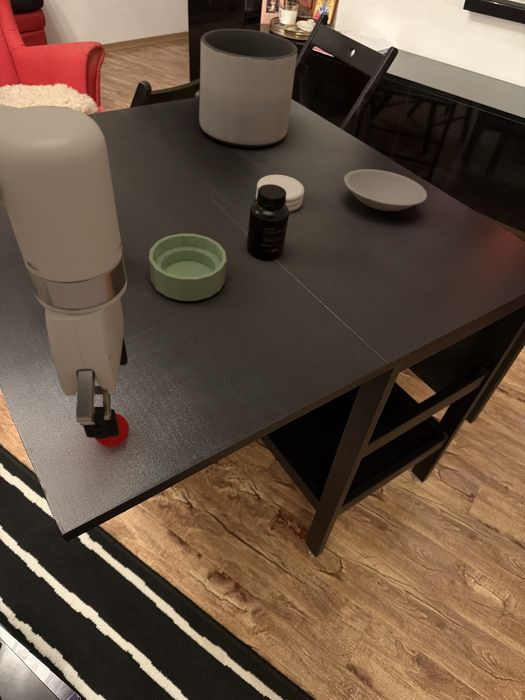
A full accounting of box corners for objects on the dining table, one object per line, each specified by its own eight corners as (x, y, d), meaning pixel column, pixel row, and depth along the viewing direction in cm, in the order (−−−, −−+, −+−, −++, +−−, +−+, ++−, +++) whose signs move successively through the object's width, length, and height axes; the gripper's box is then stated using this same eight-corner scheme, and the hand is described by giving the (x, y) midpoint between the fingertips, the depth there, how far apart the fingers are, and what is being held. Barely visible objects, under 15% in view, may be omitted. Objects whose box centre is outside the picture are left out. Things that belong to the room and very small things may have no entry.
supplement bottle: (240, 242, 90) (245, 182, 81) (273, 237, 92) (282, 178, 83) (254, 264, 85) (261, 203, 77) (289, 258, 88) (299, 198, 79)
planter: (212, 107, 132) (215, 22, 118) (292, 123, 131) (304, 38, 116) (187, 140, 117) (186, 46, 102) (278, 158, 115) (290, 65, 101)
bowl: (149, 303, 76) (147, 278, 72) (153, 256, 84) (151, 232, 80) (226, 304, 77) (228, 279, 74) (222, 258, 86) (224, 234, 82)
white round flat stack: (255, 186, 104) (257, 171, 102) (300, 191, 105) (303, 176, 103) (255, 211, 98) (257, 195, 95) (303, 215, 98) (306, 200, 96)
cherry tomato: (94, 454, 57) (88, 434, 54) (98, 425, 59) (93, 405, 56) (129, 452, 57) (125, 433, 54) (131, 424, 60) (128, 404, 57)
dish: (418, 199, 108) (426, 179, 105) (419, 233, 99) (428, 211, 95) (342, 184, 110) (347, 163, 106) (335, 215, 100) (340, 193, 96)
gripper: (51, 214, 45) (84, 340, 58) (3, 348, 33) (58, 469, 46) (133, 216, 46) (148, 339, 59) (114, 346, 34) (138, 466, 47)
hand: (109, 396), depth 52 cm, fingers open, 9 cm apart
